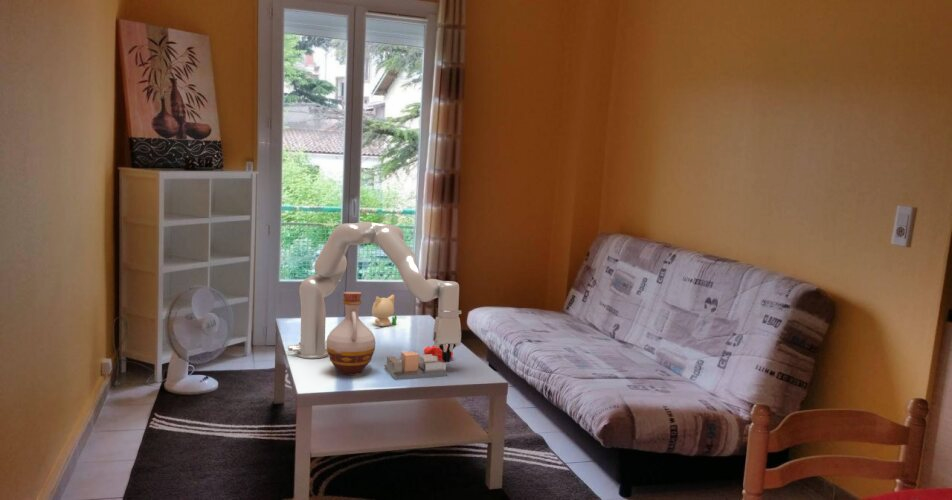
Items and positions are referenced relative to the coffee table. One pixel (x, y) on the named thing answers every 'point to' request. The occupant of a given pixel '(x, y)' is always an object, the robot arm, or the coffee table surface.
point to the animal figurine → (435, 352)
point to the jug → (351, 339)
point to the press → (429, 371)
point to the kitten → (384, 310)
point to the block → (409, 361)
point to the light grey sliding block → (426, 359)
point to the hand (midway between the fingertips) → (446, 361)
